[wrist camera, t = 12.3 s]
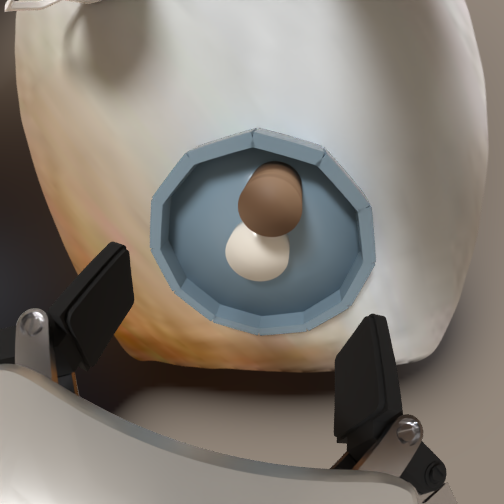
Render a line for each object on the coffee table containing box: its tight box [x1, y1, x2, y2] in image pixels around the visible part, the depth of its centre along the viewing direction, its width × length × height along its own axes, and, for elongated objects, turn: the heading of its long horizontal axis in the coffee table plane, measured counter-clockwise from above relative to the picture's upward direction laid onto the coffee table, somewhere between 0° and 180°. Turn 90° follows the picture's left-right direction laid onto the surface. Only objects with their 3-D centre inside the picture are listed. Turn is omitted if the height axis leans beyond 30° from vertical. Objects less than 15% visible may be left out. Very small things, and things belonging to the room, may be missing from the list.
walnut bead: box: [238, 161, 302, 237], centre depth 21 cm, size 4×4×5 cm
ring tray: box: [150, 128, 376, 336], centre depth 26 cm, size 21×21×3 cm
